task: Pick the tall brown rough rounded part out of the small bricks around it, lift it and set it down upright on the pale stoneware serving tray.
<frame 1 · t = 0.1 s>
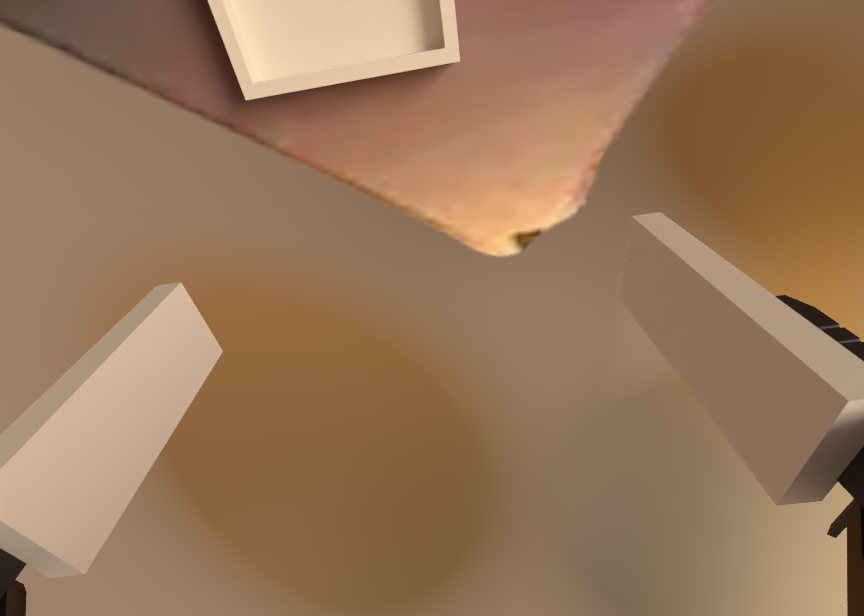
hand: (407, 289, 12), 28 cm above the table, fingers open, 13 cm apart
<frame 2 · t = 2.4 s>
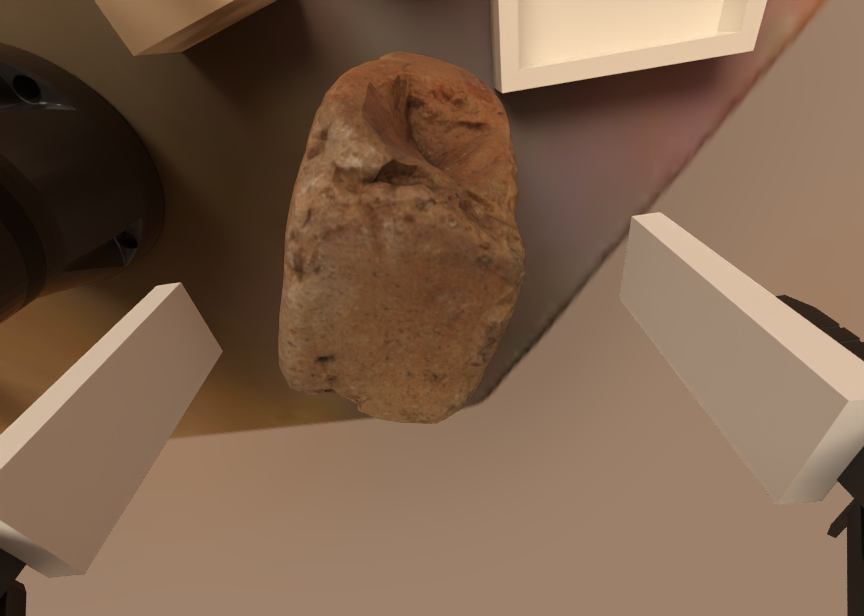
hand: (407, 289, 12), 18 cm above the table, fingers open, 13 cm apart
brown rough rounded part: (408, 142, 27), on the table
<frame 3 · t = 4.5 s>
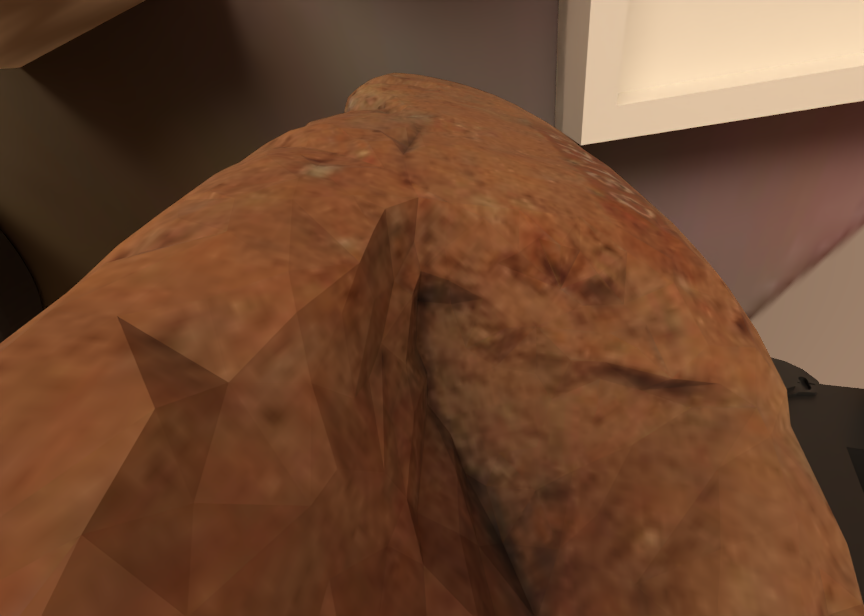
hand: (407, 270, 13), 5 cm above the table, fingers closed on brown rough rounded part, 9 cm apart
brown rough rounded part: (413, 210, 17), on the table, touching gripper
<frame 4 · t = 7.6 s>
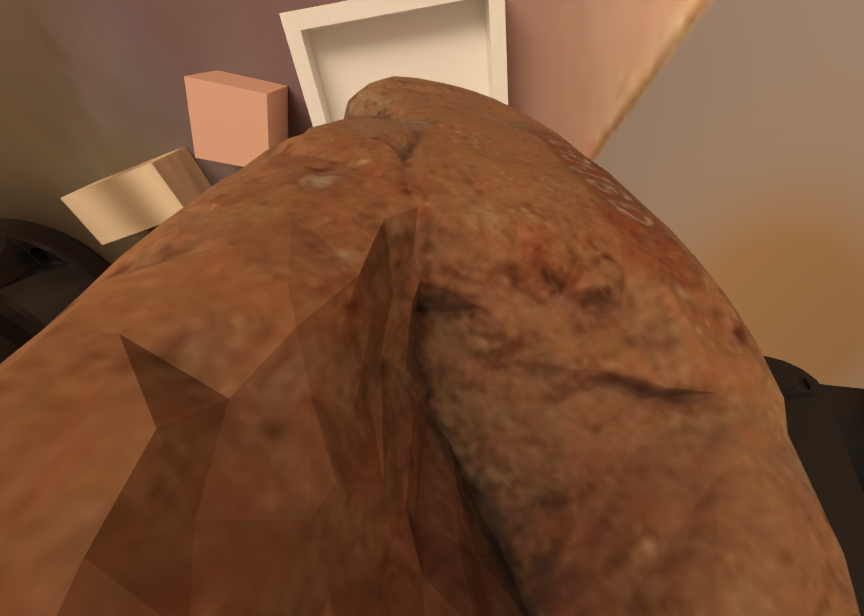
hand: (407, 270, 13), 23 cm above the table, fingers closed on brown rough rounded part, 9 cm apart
oak brick: (161, 185, 33), on the table
terracotta cube: (255, 114, 30), on the table
tray: (414, 131, 31), on the table
brown rough rounded part: (413, 212, 17), point 17 cm above the table, touching gripper
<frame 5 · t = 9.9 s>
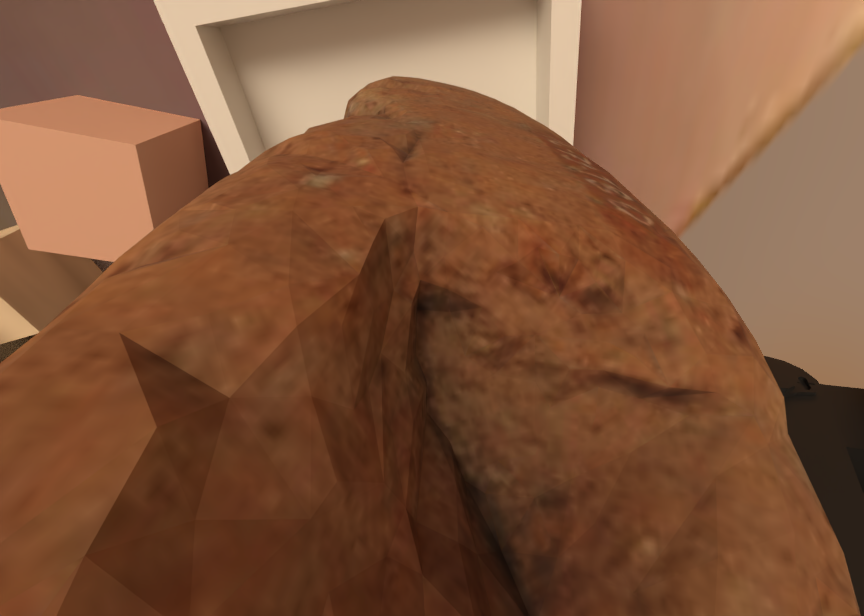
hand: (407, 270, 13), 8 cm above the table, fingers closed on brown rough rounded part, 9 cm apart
oak brick: (22, 266, 22), on the table
terracotta cube: (152, 164, 19), on the table
tray: (410, 188, 20), on the table
brown rough rounded part: (413, 212, 17), point 3 cm above the table, touching gripper
when the fingers open (7 cm above the table, at t = 11.1 s): brown rough rounded part drops 1 cm, resting on tray.
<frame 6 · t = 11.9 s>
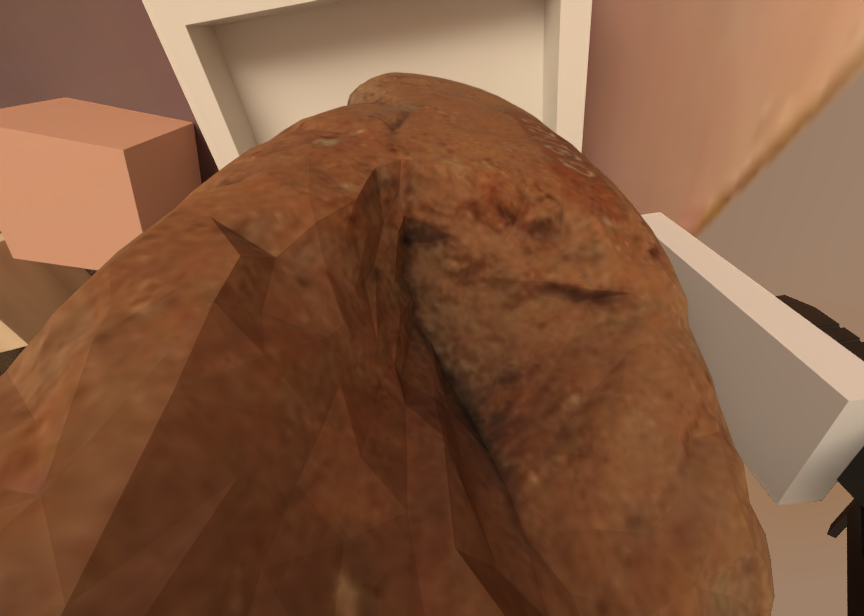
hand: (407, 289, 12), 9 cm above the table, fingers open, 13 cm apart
oak brick: (11, 273, 21), on the table
terracotta cube: (144, 168, 18), on the table
tray: (411, 193, 19), on the table
brown rough rounded part: (413, 200, 18), point 1 cm above the table, touching tray
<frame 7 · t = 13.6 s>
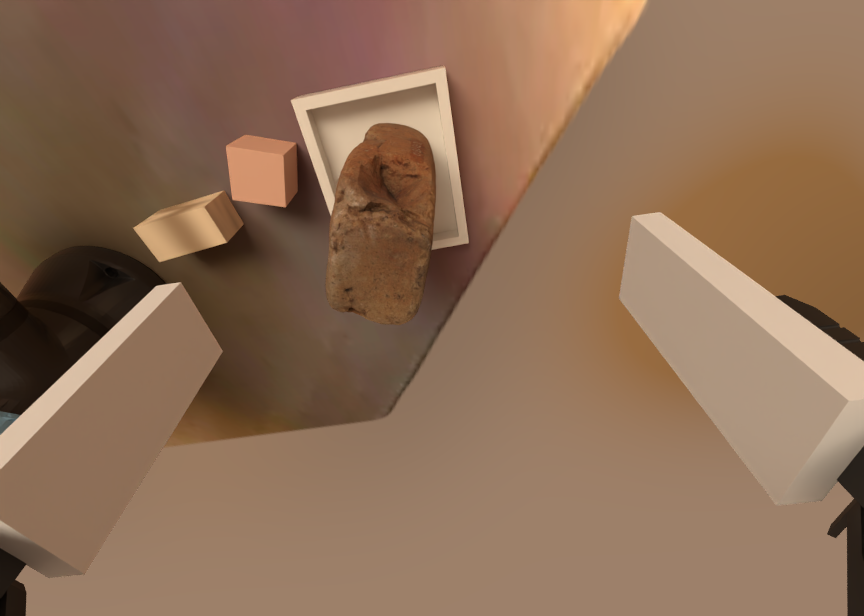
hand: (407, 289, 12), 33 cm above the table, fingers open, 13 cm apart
oak brick: (202, 216, 44), on the table
terracotta cube: (272, 163, 41), on the table
tray: (391, 171, 42), on the table
brown rough rounded part: (391, 173, 41), point 1 cm above the table, touching tray
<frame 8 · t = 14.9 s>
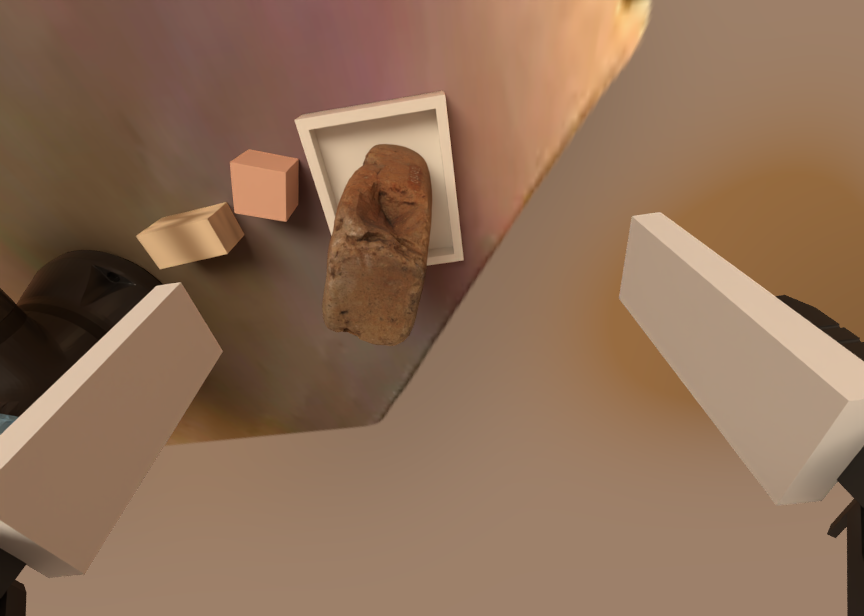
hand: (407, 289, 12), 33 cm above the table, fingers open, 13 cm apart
oak brick: (204, 225, 45), on the table
terracotta cube: (274, 177, 42), on the table
tray: (390, 188, 43), on the table
brown rough rounded part: (390, 191, 42), point 1 cm above the table, touching tray
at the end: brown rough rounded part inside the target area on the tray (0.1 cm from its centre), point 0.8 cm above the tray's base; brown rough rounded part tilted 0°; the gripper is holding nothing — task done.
